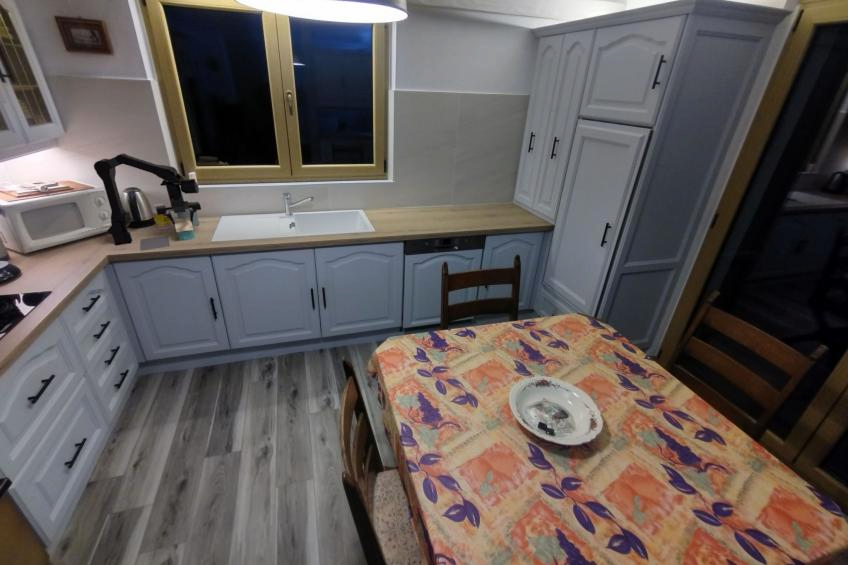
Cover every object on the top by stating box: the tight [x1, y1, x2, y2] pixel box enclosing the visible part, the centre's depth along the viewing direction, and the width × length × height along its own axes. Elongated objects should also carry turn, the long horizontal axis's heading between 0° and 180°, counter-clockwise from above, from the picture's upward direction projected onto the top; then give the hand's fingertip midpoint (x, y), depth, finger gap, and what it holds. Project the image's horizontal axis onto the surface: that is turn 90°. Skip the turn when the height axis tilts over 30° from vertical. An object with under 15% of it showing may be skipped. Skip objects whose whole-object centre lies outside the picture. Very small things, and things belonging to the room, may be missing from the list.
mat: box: [139, 234, 171, 252], centre depth 190 cm, size 12×17×1 cm
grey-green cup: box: [176, 201, 200, 227], centre depth 212 cm, size 10×10×12 cm
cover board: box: [173, 217, 194, 233], centre depth 194 cm, size 7×14×2 cm, turn 33°
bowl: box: [176, 229, 196, 241], centre depth 196 cm, size 7×7×5 cm
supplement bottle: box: [152, 203, 172, 230], centre depth 208 cm, size 7×7×13 cm
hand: (183, 224), depth 194 cm, fingers closed on cover board, 7 cm apart
